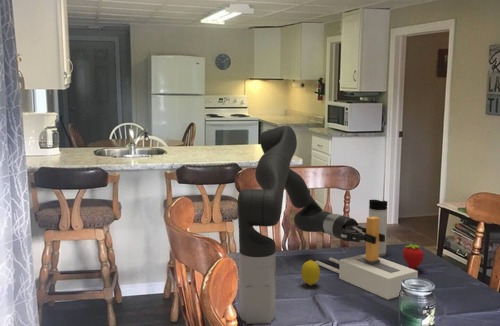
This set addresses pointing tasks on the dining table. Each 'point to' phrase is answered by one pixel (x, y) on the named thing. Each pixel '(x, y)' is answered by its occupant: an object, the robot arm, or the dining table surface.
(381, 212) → the travel mug
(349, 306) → the dining table surface
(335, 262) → the cords
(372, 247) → the handle
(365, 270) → the switch box
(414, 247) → the strawberry
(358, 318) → the dining table surface
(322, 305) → the dining table surface
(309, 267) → the lemon
